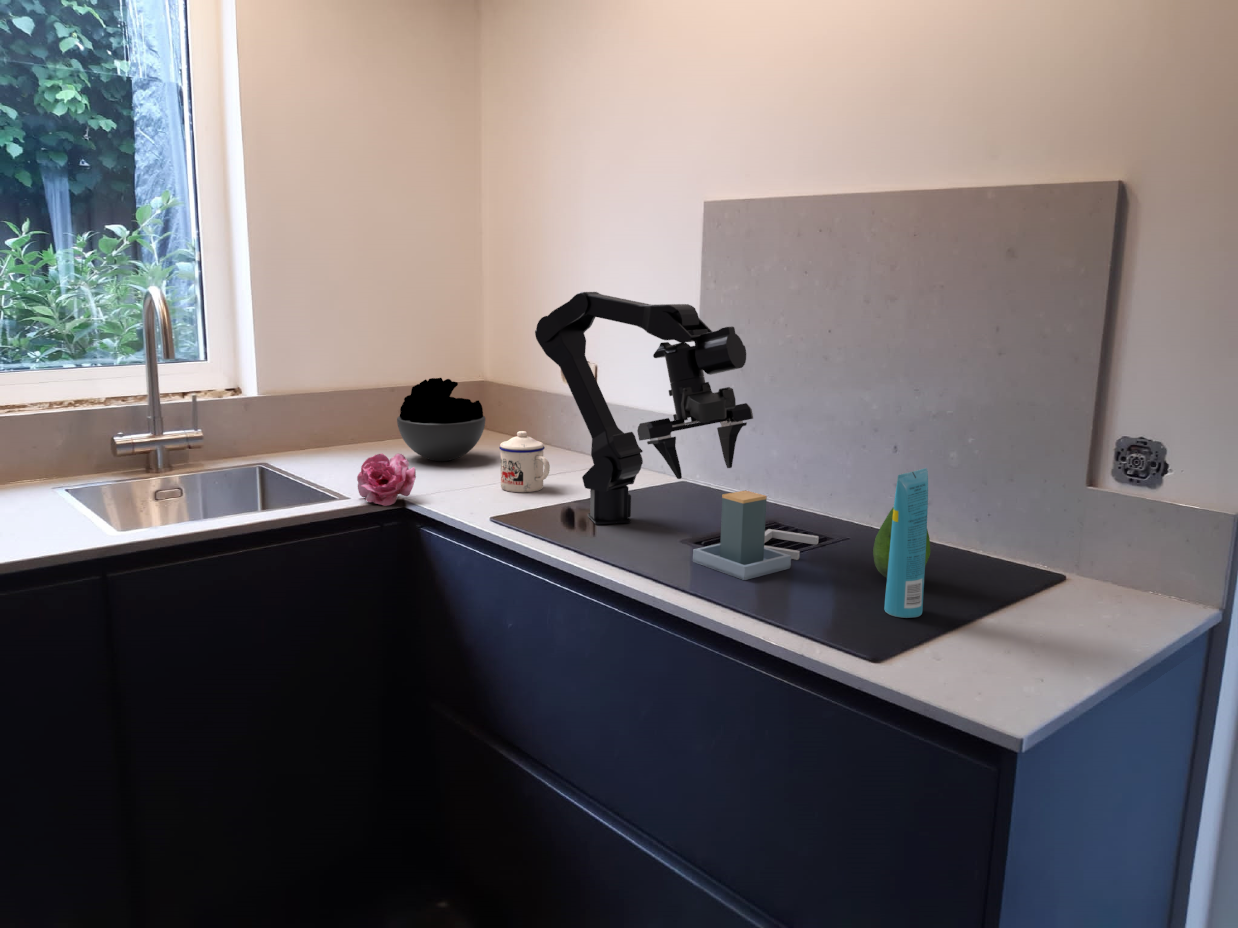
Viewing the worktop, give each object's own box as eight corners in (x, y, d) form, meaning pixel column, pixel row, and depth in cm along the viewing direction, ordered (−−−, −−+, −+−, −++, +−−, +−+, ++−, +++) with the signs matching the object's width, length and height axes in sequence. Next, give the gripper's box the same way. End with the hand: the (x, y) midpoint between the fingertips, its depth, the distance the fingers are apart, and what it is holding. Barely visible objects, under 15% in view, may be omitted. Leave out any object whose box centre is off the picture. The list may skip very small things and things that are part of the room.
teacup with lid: (490, 488, 195) (489, 431, 192) (522, 481, 201) (522, 426, 199) (532, 497, 187) (532, 439, 185) (564, 490, 194) (564, 433, 192)
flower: (392, 524, 178) (358, 484, 174) (373, 516, 187) (341, 478, 182) (436, 484, 183) (405, 444, 178) (417, 478, 191) (386, 440, 187)
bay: (745, 551, 154) (745, 544, 153) (768, 535, 163) (768, 528, 163) (797, 559, 150) (797, 552, 149) (818, 543, 159) (818, 536, 159)
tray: (692, 561, 148) (693, 549, 147) (738, 551, 154) (738, 539, 153) (744, 580, 139) (744, 567, 139) (790, 568, 145) (791, 555, 145)
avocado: (919, 593, 135) (926, 510, 133) (864, 582, 139) (870, 502, 137) (933, 578, 142) (940, 499, 139) (881, 569, 146) (887, 492, 143)
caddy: (719, 561, 147) (722, 494, 144) (742, 555, 150) (745, 490, 148) (740, 568, 143) (743, 500, 141) (763, 562, 146) (766, 495, 144)
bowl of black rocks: (455, 449, 236) (454, 372, 232) (502, 461, 221) (502, 380, 217) (381, 458, 222) (379, 377, 218) (427, 472, 208) (425, 386, 204)
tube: (897, 601, 132) (908, 464, 128) (931, 609, 128) (943, 469, 125) (873, 615, 126) (884, 472, 122) (908, 624, 123) (920, 478, 119)
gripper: (653, 383, 146) (672, 484, 147) (760, 365, 153) (778, 461, 153) (628, 391, 157) (646, 484, 157) (729, 373, 163) (745, 463, 164)
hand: (704, 473), depth 158 cm, fingers open, 9 cm apart
